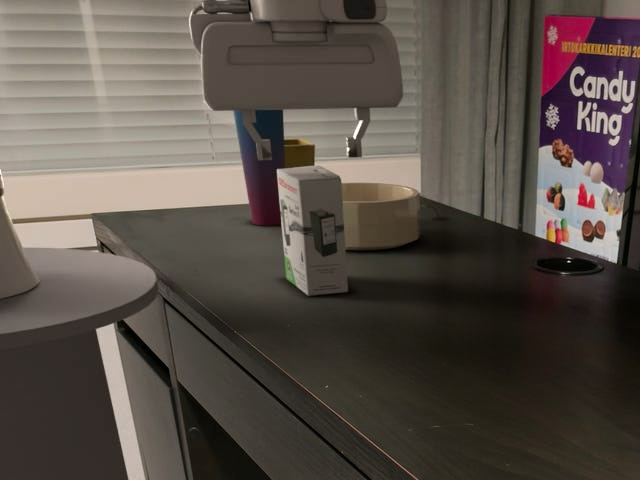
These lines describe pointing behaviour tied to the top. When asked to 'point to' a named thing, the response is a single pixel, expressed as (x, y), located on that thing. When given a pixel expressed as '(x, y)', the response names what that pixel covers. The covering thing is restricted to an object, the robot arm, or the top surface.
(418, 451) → the top surface
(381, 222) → the bowl
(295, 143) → the flower pot
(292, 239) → the ink box
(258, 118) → the cup
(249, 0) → the robot arm
